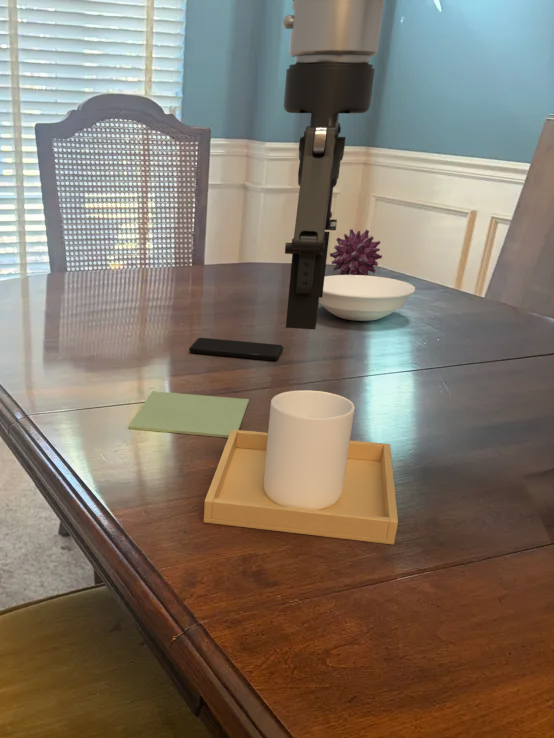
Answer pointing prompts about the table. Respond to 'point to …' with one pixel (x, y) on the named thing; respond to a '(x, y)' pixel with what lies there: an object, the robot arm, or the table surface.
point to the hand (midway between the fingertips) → (305, 311)
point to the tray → (342, 520)
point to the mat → (190, 414)
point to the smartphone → (236, 348)
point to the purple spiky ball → (356, 254)
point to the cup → (307, 448)
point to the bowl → (363, 296)
